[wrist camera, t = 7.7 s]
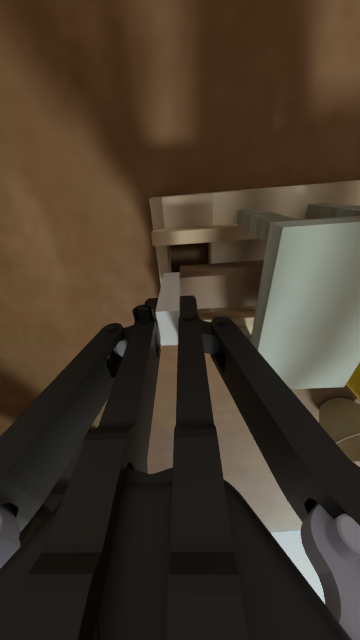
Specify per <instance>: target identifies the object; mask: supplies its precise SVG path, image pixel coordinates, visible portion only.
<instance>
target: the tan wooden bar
mask: <svg viewBox="0 0 360 640" xmlns="http://www.w3.org/2000/svg"><path fill="white" fill-rule="evenodd" d="M263 263H264V260H257V261H242V262H228V263H214V264H199V265H185V266H180V275H179V279H180V289H181V296H189V295H193V296H194V297H195V298H196V302H197V309H205V308H222V307H239V306H256V305H257V299H258V293H259V287H260V281H261V275H262V269H263Z"/></svg>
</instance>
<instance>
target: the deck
mask: <svg viewBox="0 0 360 640" xmlns="http://www.w3.org/2000/svg"><path fill="white" fill-rule="evenodd" d="M149 202H150V210H151V217H152V224H153V231H152V232H151V238H152V245H153V246H155V247H156V254H157V262H158V269H159V276H160V284H161V283H162V279H163V274H164V273H172V268H171V258H170V247H169V245H178V244H193V243H207V242H208V264H214V263H228V262H242V261H257V260H264V263H263V269H262V275H261V281H260V287H259V293H258V299H257V305H256V306H239V307H222V308H205V309H197V310H198V316H199V318H200V319H202V320H204V321H207V322H211V321H212V319H214V318H216V317H227V318H230V319H231V320H232V321H233V322H234V323H235V324H236V325H237V327H238V328H239V329H240V330H241V331H242V333H243V334H244V335H245V336H246V337H247V338H248V340H249V341H250V342H251V343H252V344H253V346H254V347H255V348H256V349H257V350H258V352H259V353H260V354H261V355H262V356H263V357H264V359H265V360H266V361H267V362H268V363H269V365H270V366H271V367H272V368H273V369H274V370H275V372H276V373H277V374H278V375H279V376H280V378H281V379H282V380H283V381H284V382H285V384H286V385H287V386H288V387H289V388H290V389H306V388H334V387H344V386H345V385H346V383H347V382H348V380H349V378H350V377H351V375H352V374H353V372H354V370H355V369H356V367H357V366H358V364H359V362H360V180H355V181H343V182H331V183H318V184H306V185H294V186H282V187H270V188H258V189H246V190H234V191H222V192H209V193H197V194H185V195H173V196H161V197H152V198H149ZM250 334H251V335H250Z"/></svg>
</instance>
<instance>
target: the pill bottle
mask: <svg viewBox="0 0 360 640" xmlns="http://www.w3.org/2000/svg"><path fill="white" fill-rule="evenodd" d="M346 385H347V386H348V387H349V388H350V389H351V391H352V392H353V393H354V394H355V395H356V397H357V398H358V399H359V400H360V362H359V364H358V366H357V367H356V369H355V370H354V372H353V374H352V375H351V377H350V378H349V380H348V382H347V383H346Z"/></svg>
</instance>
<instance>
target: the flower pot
mask: <svg viewBox="0 0 360 640" xmlns="http://www.w3.org/2000/svg"><path fill="white" fill-rule="evenodd" d="M319 424H320V425H321V426H322V427H323V429H324V430H325V431H326V432H327V433H328V435H329V436H330V437H331V438H332V439H333V440H334V442H335V443H336V444H337V445H338V446H339V448H340V449H341V450H342V451H343V452H344V454H345V455H346V456H347V457H348V458H349V459H350V460H351V461H352V462H360V404H358V403H356V402H354V401H352V400H349V399H347V398H342V397H338V398H333V399H330V400H327V401H325V402H324V403H323V404H322V405H321V406H320V409H319Z"/></svg>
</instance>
